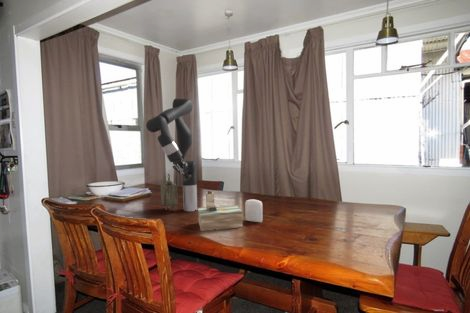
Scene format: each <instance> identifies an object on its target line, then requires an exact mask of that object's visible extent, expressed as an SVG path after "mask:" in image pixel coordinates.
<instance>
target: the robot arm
mask: <svg viewBox="0 0 470 313" xmlns="http://www.w3.org/2000/svg"><path fill="white" fill-rule="evenodd" d="M192 110H193V102H192V100H191V99H189V98H176V97H175V98H174V99H173V102H172V108H168V109H166V110H163V111H162V112H161V113H159V114H158V115H157V116H154V117H152V118H150V119H148V120H147V122H146V126H145V127H146V130H148V131H149V132H150V133H156V132H160V134H159V135H158V137H157V141H158V143H159V144H160V147H161V148H162V151H163V152H164V154H165V156H166V158H167V159H168V161H169V162H170V163H172V165H173V166H172V169H174V170H175V171H176V172H177V173H178V174H180V175H182V176H183V177H184V180H183V181H182V200H183V202H182V203H183V211H184V212H195V210H196V211H198V187H197V186H198V185H197V184H198V183H197V163H196V161H195V160H185V158H186V155H187V153H188V151H189V150H190V148H191V147H192V144H193V139H192V138H193V137H192V132H191V130H190V128H189V127H188V125H187V124H186V122H185V121H184V118H183V116H186V115H189V114H190V113H191V112H192ZM173 121H174V122H175V129H176V140H177V143H176V142H175V140H174V139H173V137H172V135H171V132H170V129H169V126H168V125H169V124H171V123H172V122H173Z"/></svg>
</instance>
